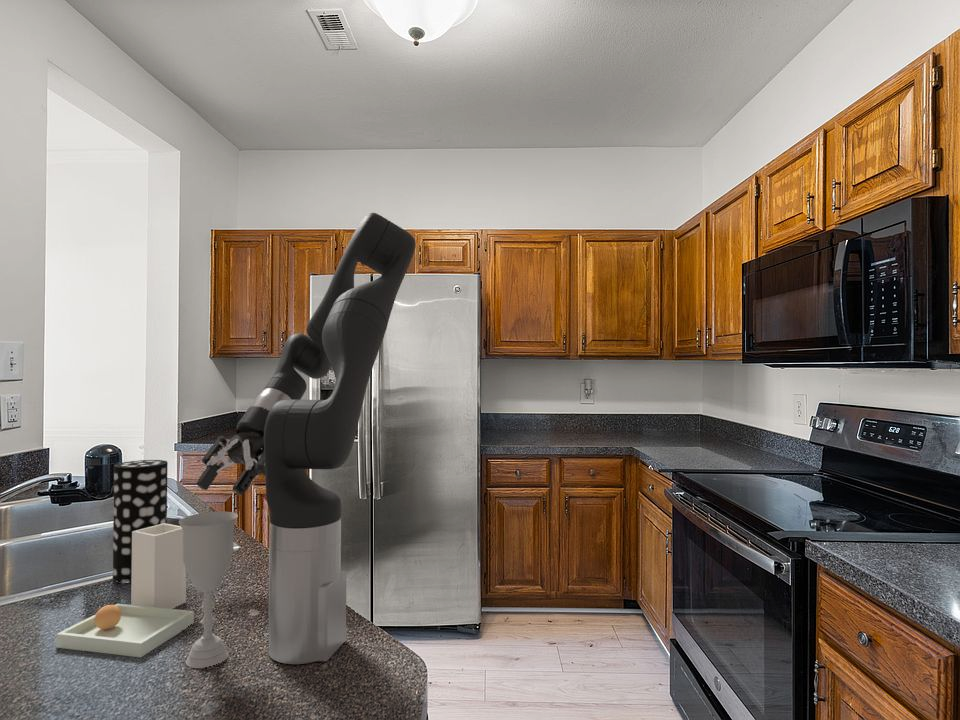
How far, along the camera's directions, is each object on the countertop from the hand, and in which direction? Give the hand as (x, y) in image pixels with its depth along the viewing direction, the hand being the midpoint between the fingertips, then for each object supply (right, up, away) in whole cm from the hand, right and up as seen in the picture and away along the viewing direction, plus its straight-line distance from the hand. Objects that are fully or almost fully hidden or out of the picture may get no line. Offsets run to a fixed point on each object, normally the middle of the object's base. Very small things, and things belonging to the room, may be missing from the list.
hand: (218, 489), depth 102 cm
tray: (-4, -16, -20) cm, 26 cm away
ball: (-7, -14, -20) cm, 25 cm away
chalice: (+10, -16, -27) cm, 33 cm away
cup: (-5, -16, -10) cm, 20 cm away
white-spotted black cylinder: (-15, -16, +3) cm, 23 cm away
